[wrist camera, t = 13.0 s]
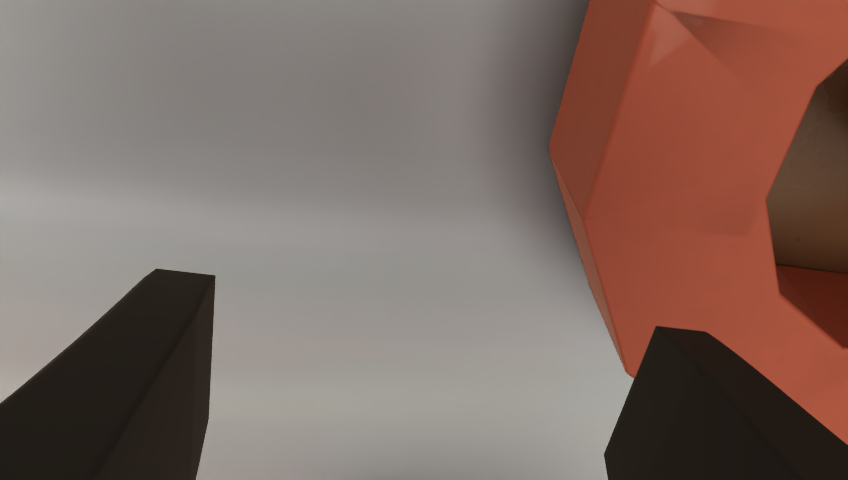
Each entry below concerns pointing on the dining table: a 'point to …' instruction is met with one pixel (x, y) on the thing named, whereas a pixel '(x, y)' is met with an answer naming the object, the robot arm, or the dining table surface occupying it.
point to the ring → (702, 181)
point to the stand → (815, 185)
